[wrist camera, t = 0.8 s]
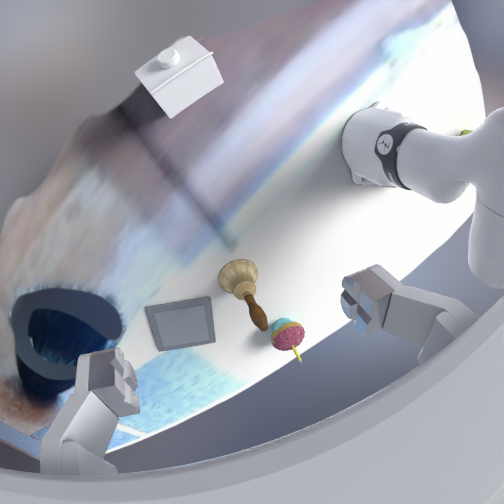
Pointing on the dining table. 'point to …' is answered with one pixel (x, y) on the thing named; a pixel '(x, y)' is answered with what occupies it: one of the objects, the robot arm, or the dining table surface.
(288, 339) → the cupcake
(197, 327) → the plate
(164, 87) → the milk carton
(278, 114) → the dining table surface
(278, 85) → the dining table surface
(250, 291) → the hand bell
